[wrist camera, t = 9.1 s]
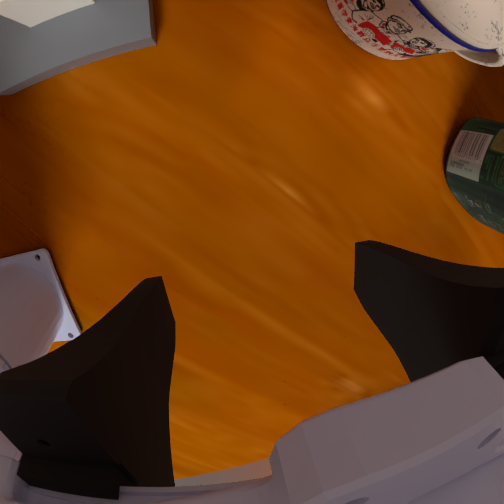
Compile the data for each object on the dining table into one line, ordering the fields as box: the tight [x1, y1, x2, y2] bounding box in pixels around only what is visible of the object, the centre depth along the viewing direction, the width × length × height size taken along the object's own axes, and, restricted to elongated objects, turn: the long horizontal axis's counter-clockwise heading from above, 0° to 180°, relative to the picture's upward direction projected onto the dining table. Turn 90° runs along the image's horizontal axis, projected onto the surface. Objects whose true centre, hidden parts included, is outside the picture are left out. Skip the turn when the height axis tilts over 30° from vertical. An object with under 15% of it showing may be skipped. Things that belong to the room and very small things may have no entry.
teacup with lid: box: [327, 0, 504, 67], centre depth 11 cm, size 12×9×12 cm
